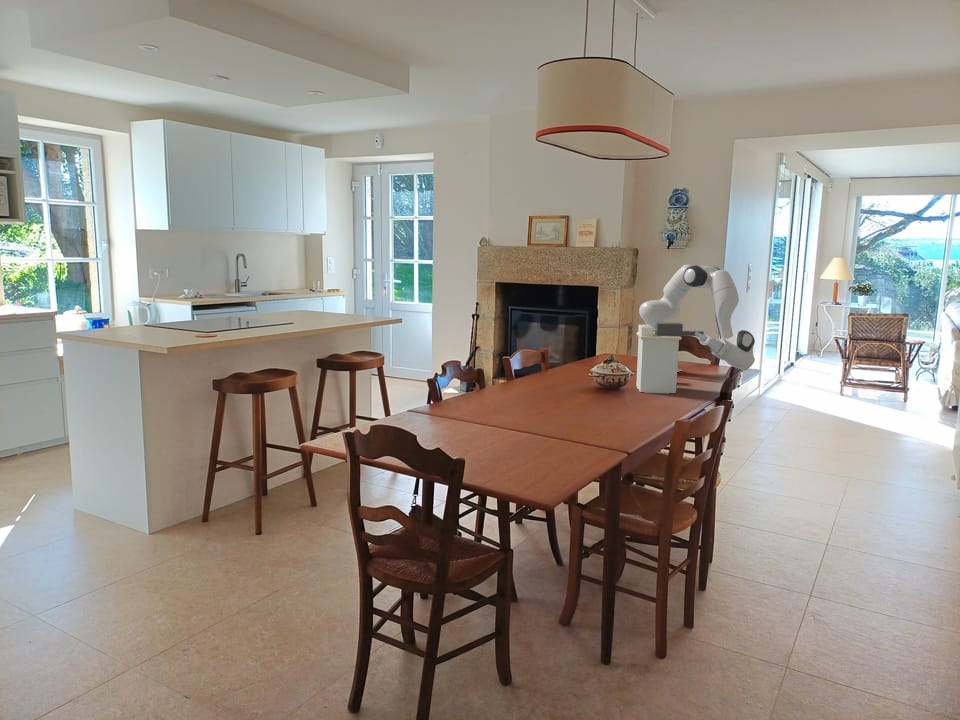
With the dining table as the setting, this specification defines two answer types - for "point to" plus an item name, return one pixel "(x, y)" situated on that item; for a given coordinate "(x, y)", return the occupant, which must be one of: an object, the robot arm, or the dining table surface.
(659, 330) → the dark grey stepped bar
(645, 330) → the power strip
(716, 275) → the robot arm
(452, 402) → the dining table surface
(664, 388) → the cabinet
